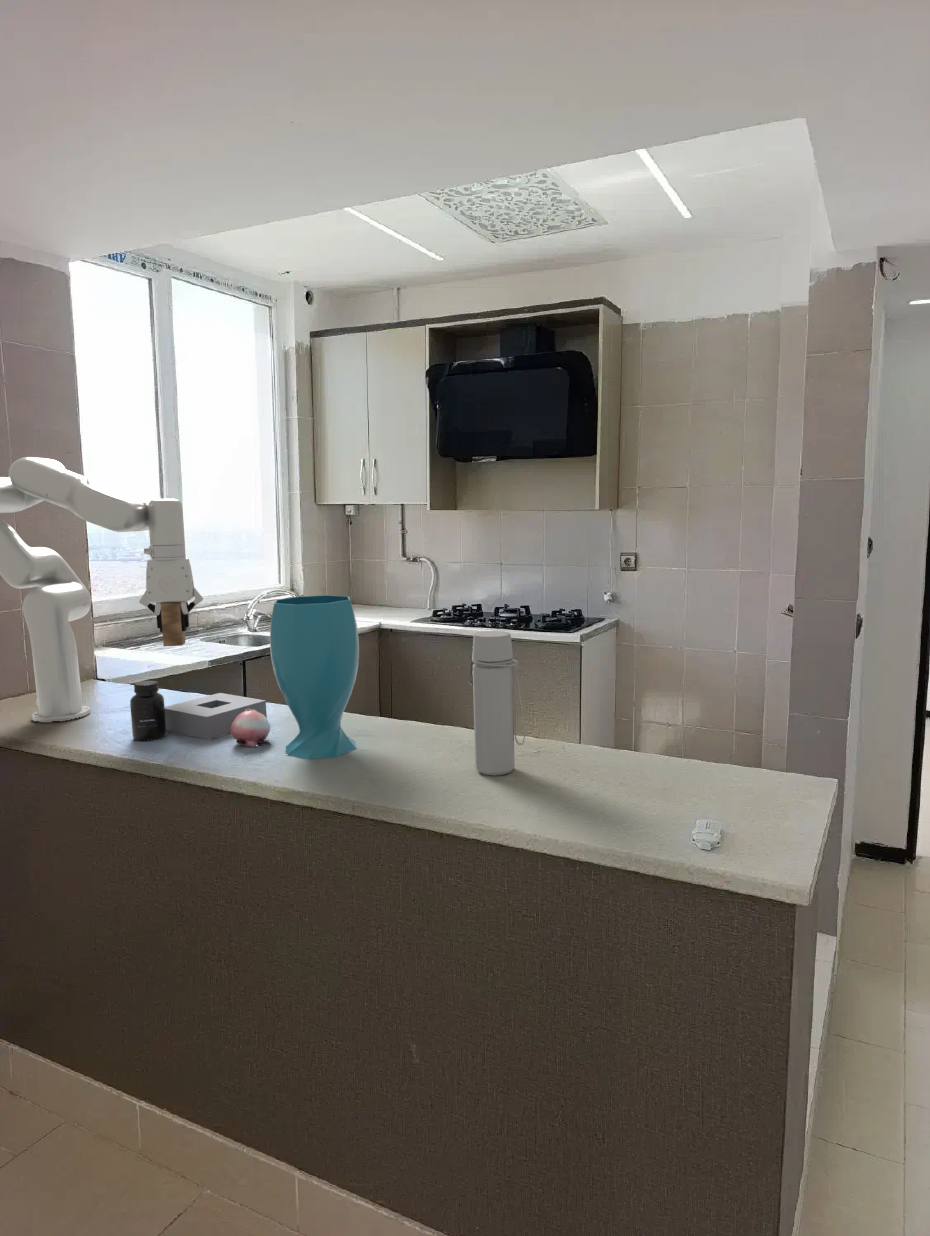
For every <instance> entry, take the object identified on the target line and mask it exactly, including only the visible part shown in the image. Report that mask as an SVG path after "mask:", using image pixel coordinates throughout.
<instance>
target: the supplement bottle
mask: <svg viewBox="0 0 930 1236" xmlns="http://www.w3.org/2000/svg"><path fill="white" fill-rule="evenodd" d="M133 688H134V689H133V691H134V692H133V693H135V694H134V695H133V696H132V697H131V698H130V701H129V703H130V704H129V705H130V717H131V719H130V720H131V722H130V723H131V732H132V733H131V734H132V738H133V740H134V741H138V742H148V741H156V740H161V739H162V738H164V737H165V736H166V734H167V730H166V721H165V707H166V706H165V705H166V704H165V697H164V695H163V694H162V693H159V692H158V691H159V690H160V687H159V682H158V681H156V680H143V681H142V680H141V681H137V682H135V683H134V684H133Z"/></svg>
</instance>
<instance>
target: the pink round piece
mask: <svg viewBox="0 0 930 1236" xmlns="http://www.w3.org/2000/svg"><path fill="white" fill-rule="evenodd" d="M270 732H271V727H270V722H269V720H268V717H267V718H266V717H265V716H264V715H263V714H261V713H259V712H258V711H256V710H251V709H246V710H245V711H244V712H242V713H240V714H239V715H238V716H237V717H236V718H235V719H234V721H233V723H232V725H231V733H230V734H231V735H232V737H233V738H234V739H235V742H236V744H237V745H241V746H246V747H250V748H257V747H256V745H259V743H263V744H261V746H262V745H264V743H265V744H266V742H270V740H266V738H268V736H269V734H270ZM253 746H254V747H253Z"/></svg>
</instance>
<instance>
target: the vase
mask: <svg viewBox="0 0 930 1236" xmlns="http://www.w3.org/2000/svg"><path fill="white" fill-rule="evenodd" d="M269 648H270V658H271V664H272V670H273V674H274V677H275V679H276V683H277V685H278V687H279V690H280V692H281V694H282V696H283V699H284V700H285V703H286V704H287V707H288V708H289V710H290V712H291V713H292V715H293V717H294V719H295V721H296V724H297V726H298V734H297V735H296V736H295V737H294V738H293V740H291V741H290V742H289V743H288V744H286V746H285V753H284V755H285V754H288V755H287V756H289V755H291V756H290V757H294V756H295V757H294V758H298V759H299V758H300V759H305V760H311V759H312V760H314V759H321V758H322V759H324V758H325V759H326V758H334V757H335V758H336V757H339V756H342V755H344V754H346V753H349V752H351V751H354V750H356V749H357V745H356V740H355V741H354V739H352V738H351V737H350V736H348V735H347V734H346V732H345V731H344V730H343V728H342V725H341V723H342V718H343V715H344V712H345V710H346V707H347V704H348V703H349V700H350V697H351V696H352V693H353V689H354V686H355V684H356V680H357V674H358V669H359V662H360V661H359V660H360V639H359V630H358V624H357V619H356V614H355V611H354V607H353V603H352V600H351V597H350V596H349V595H331V594H327V595H326V594H324V595H306V596H305V595H304V596H303V595H301V596H294V597H293V596H292V597H286V598H280V599H275V600H274V603H273V607H272V612H271V620H270V631H269ZM341 754H342V755H341Z"/></svg>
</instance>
